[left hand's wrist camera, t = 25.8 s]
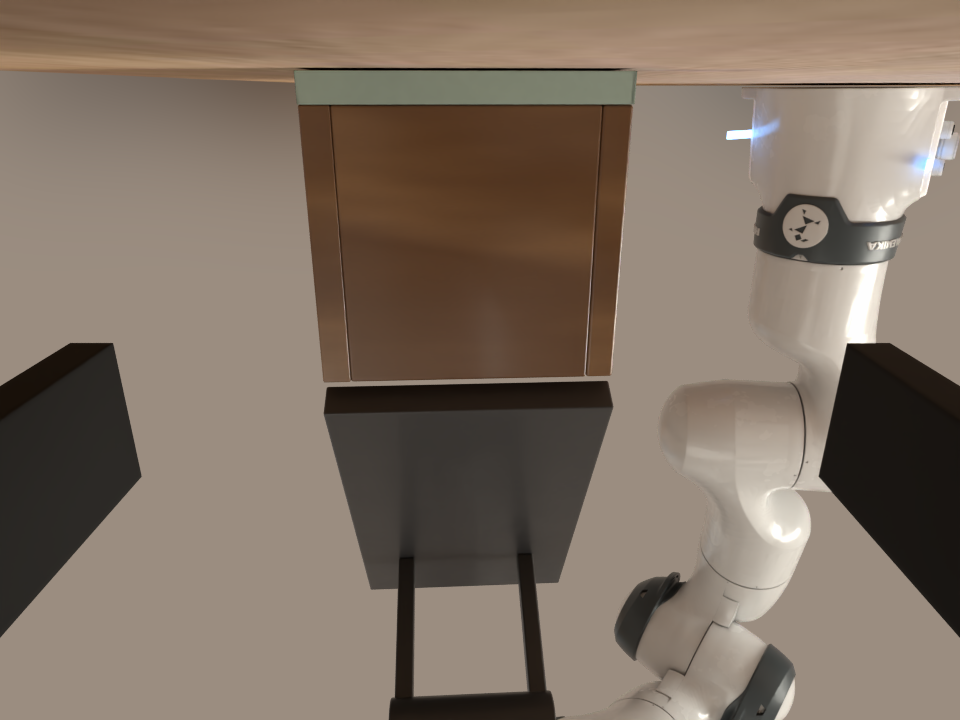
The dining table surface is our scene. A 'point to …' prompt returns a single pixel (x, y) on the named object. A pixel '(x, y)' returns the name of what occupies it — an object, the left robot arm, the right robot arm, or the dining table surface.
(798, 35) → the dining table surface
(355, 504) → the lid
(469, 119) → the chest
